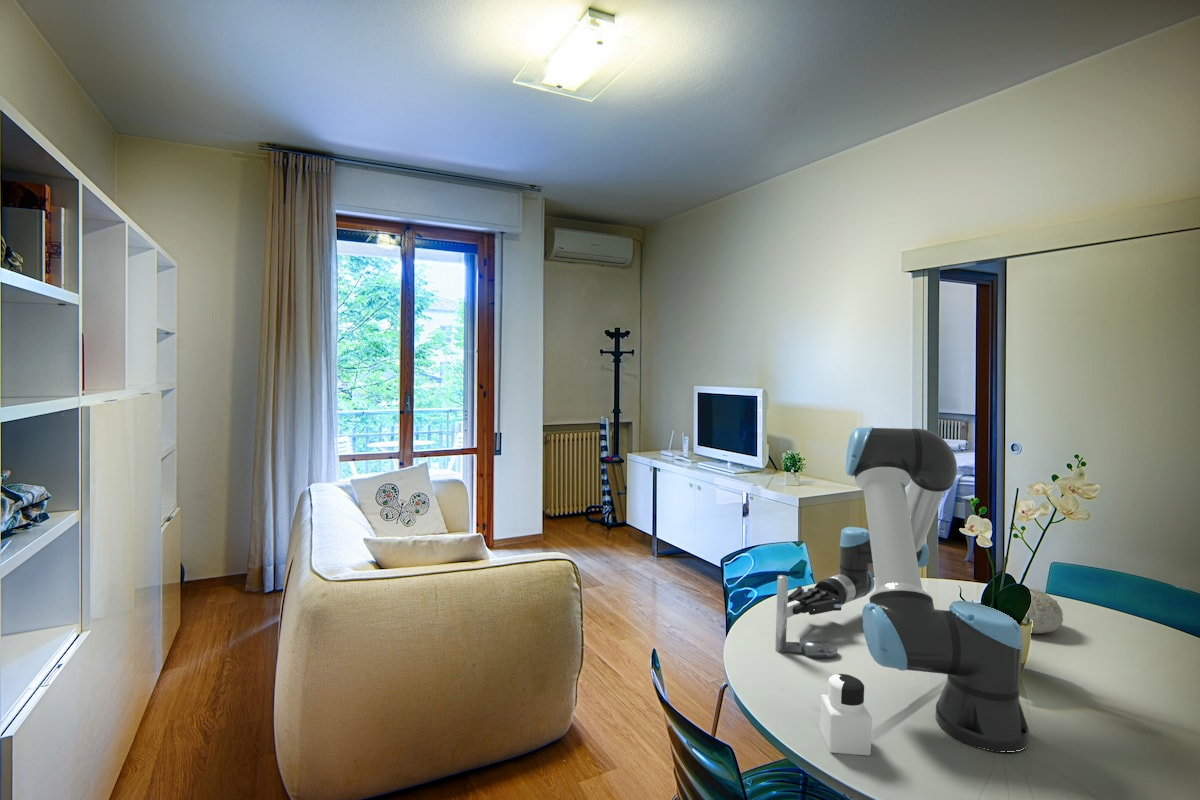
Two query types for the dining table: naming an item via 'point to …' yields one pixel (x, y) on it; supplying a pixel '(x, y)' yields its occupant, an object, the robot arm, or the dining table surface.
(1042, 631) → the grey rock
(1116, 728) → the dining table surface
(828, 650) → the crank handle
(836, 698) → the medicine bottle
